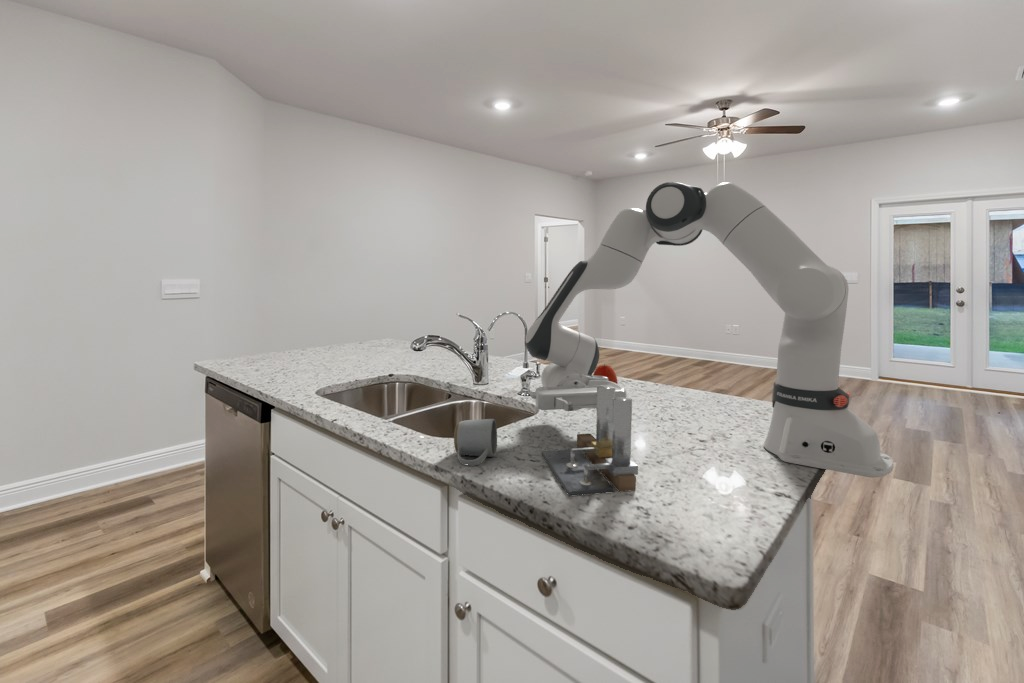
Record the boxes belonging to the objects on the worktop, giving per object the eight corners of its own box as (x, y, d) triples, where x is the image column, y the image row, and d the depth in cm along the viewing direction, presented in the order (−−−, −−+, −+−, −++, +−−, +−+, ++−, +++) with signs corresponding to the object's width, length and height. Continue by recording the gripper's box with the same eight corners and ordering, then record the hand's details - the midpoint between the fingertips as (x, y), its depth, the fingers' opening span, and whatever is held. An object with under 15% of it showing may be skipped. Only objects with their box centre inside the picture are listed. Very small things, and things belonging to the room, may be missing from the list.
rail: (576, 445, 109) (577, 434, 108) (589, 444, 109) (590, 433, 109) (619, 491, 85) (619, 478, 85) (635, 490, 86) (635, 476, 85)
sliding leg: (567, 459, 97) (567, 386, 95) (610, 455, 98) (611, 384, 96) (574, 467, 93) (574, 392, 91) (618, 464, 94) (620, 389, 92)
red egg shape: (622, 401, 146) (623, 365, 145) (596, 402, 145) (597, 366, 143) (610, 394, 154) (611, 360, 153) (586, 396, 153) (586, 362, 151)
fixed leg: (579, 475, 89) (580, 398, 87) (627, 471, 91) (629, 396, 89) (587, 485, 85) (589, 404, 83) (637, 481, 86) (639, 402, 84)
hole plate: (541, 454, 103) (541, 450, 103) (578, 451, 104) (578, 447, 104) (569, 496, 84) (569, 490, 83) (613, 492, 85) (613, 487, 85)
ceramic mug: (460, 447, 108) (459, 413, 106) (497, 448, 107) (497, 414, 106) (449, 467, 97) (448, 429, 96) (490, 468, 96) (489, 430, 95)
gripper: (528, 379, 113) (542, 393, 100) (612, 375, 117) (637, 389, 103) (528, 406, 114) (542, 423, 101) (611, 401, 118) (636, 418, 104)
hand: (591, 406), depth 102 cm, fingers open, 8 cm apart
